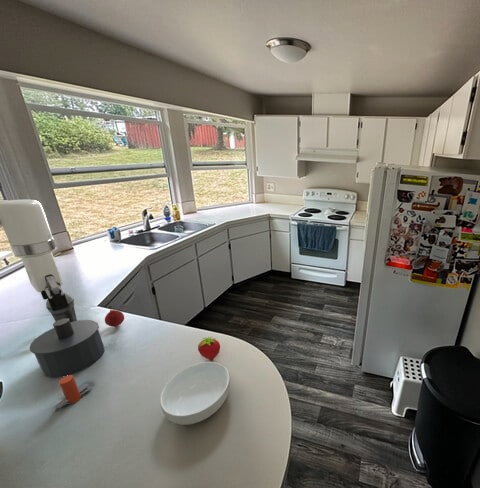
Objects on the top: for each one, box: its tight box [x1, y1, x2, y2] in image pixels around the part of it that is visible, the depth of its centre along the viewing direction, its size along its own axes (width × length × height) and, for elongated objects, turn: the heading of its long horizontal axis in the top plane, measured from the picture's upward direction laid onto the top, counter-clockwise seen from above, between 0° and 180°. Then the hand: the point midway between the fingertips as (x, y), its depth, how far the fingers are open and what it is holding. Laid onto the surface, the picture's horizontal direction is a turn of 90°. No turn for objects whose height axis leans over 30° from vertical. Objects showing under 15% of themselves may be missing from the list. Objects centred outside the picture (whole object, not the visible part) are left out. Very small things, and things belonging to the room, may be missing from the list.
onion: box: [104, 308, 125, 328], centre depth 98 cm, size 6×6×8 cm
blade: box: [53, 374, 93, 411], centre depth 69 cm, size 8×3×8 cm, turn 151°
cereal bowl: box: [159, 361, 231, 426], centre depth 69 cm, size 17×17×7 cm
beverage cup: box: [45, 292, 78, 322], centre depth 93 cm, size 7×7×20 cm
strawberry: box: [197, 335, 221, 361], centre depth 83 cm, size 6×8×10 cm
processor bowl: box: [34, 329, 105, 379], centre depth 81 cm, size 15×15×10 cm
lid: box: [29, 319, 100, 355], centre depth 79 cm, size 16×16×6 cm
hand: (56, 302), depth 72 cm, fingers open, 9 cm apart
